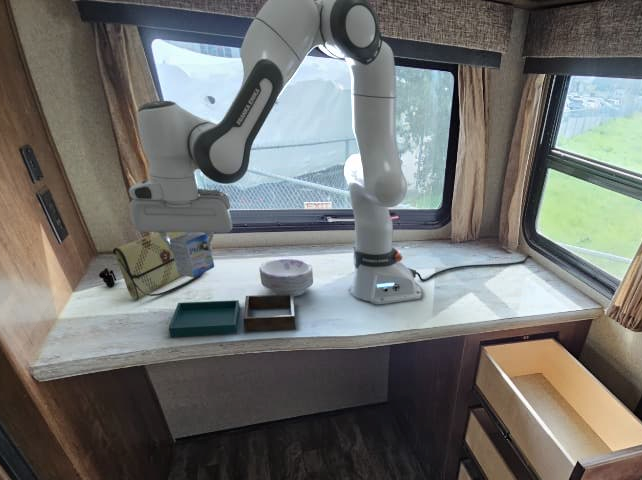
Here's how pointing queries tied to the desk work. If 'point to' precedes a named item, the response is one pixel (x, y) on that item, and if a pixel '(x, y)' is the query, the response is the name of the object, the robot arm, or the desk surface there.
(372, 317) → the desk surface
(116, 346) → the desk surface
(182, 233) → the clutch purse
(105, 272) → the wireless earbuds
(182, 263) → the medicine box
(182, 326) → the tray
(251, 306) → the wooden floating shelf
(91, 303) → the desk surface
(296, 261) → the paper bowls
